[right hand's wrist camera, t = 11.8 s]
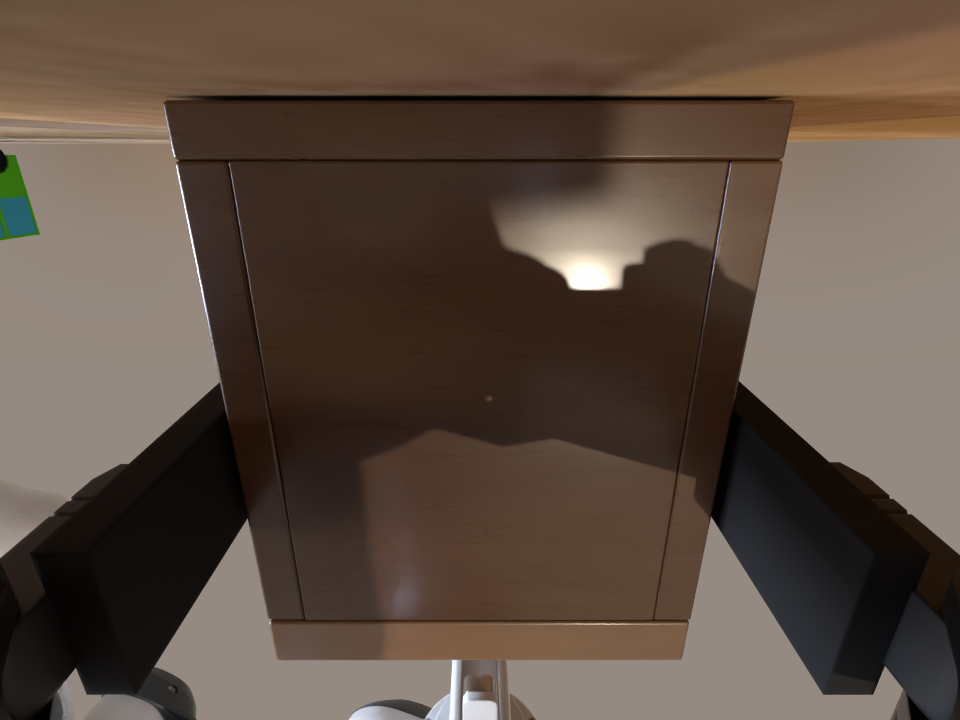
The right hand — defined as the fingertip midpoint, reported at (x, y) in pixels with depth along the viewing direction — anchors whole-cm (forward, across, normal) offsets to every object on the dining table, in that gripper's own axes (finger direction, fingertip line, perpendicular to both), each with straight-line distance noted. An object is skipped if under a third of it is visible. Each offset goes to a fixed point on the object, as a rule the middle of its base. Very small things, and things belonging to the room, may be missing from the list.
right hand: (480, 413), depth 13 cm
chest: (+6, 0, -7) cm, 9 cm away
